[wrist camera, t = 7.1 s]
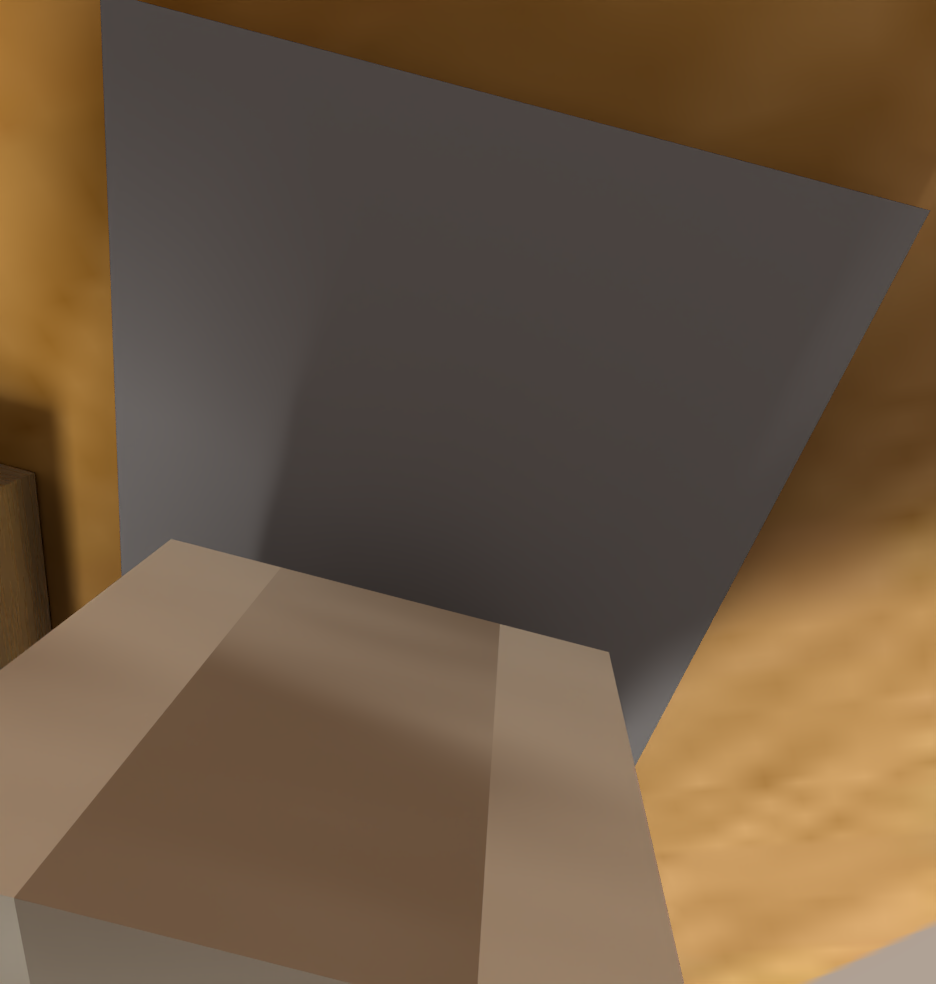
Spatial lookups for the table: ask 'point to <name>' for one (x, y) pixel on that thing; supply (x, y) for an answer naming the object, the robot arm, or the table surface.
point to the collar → (316, 793)
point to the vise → (21, 566)
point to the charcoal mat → (462, 338)
